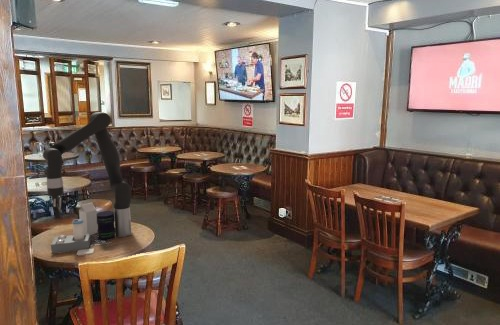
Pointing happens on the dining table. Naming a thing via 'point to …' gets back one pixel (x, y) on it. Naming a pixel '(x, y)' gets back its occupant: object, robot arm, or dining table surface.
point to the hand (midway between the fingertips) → (58, 217)
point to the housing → (70, 244)
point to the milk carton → (89, 218)
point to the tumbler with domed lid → (78, 229)
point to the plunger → (62, 237)
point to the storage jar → (105, 225)
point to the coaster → (85, 251)
